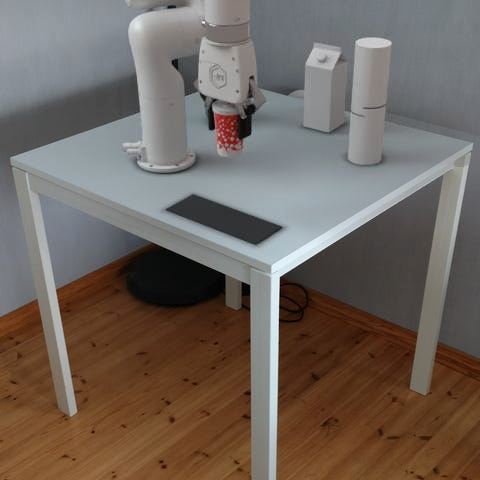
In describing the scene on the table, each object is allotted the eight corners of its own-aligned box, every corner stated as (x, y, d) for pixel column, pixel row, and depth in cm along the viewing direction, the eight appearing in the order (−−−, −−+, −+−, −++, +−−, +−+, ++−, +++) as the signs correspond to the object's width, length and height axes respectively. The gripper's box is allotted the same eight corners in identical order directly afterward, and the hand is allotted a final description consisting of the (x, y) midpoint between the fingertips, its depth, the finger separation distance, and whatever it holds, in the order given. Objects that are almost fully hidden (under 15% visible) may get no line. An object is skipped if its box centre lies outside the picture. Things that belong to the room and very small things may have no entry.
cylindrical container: (379, 166, 169) (390, 48, 155) (346, 163, 170) (354, 47, 156) (381, 152, 175) (392, 38, 161) (349, 150, 176) (357, 36, 162)
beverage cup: (249, 157, 143) (249, 81, 135) (216, 160, 142) (213, 83, 134) (243, 143, 148) (243, 69, 140) (211, 146, 147) (208, 72, 139)
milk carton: (318, 117, 193) (322, 38, 182) (344, 123, 189) (349, 43, 179) (303, 127, 188) (305, 46, 177) (329, 133, 184) (333, 51, 174)
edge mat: (165, 210, 154) (165, 208, 154) (193, 195, 159) (193, 193, 159) (255, 245, 142) (255, 243, 142) (282, 227, 147) (282, 226, 147)
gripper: (174, 27, 135) (180, 128, 145) (254, 45, 126) (254, 151, 136) (203, 18, 140) (207, 115, 150) (282, 34, 131) (281, 137, 140)
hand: (229, 131), depth 143 cm, fingers closed on beverage cup, 6 cm apart
